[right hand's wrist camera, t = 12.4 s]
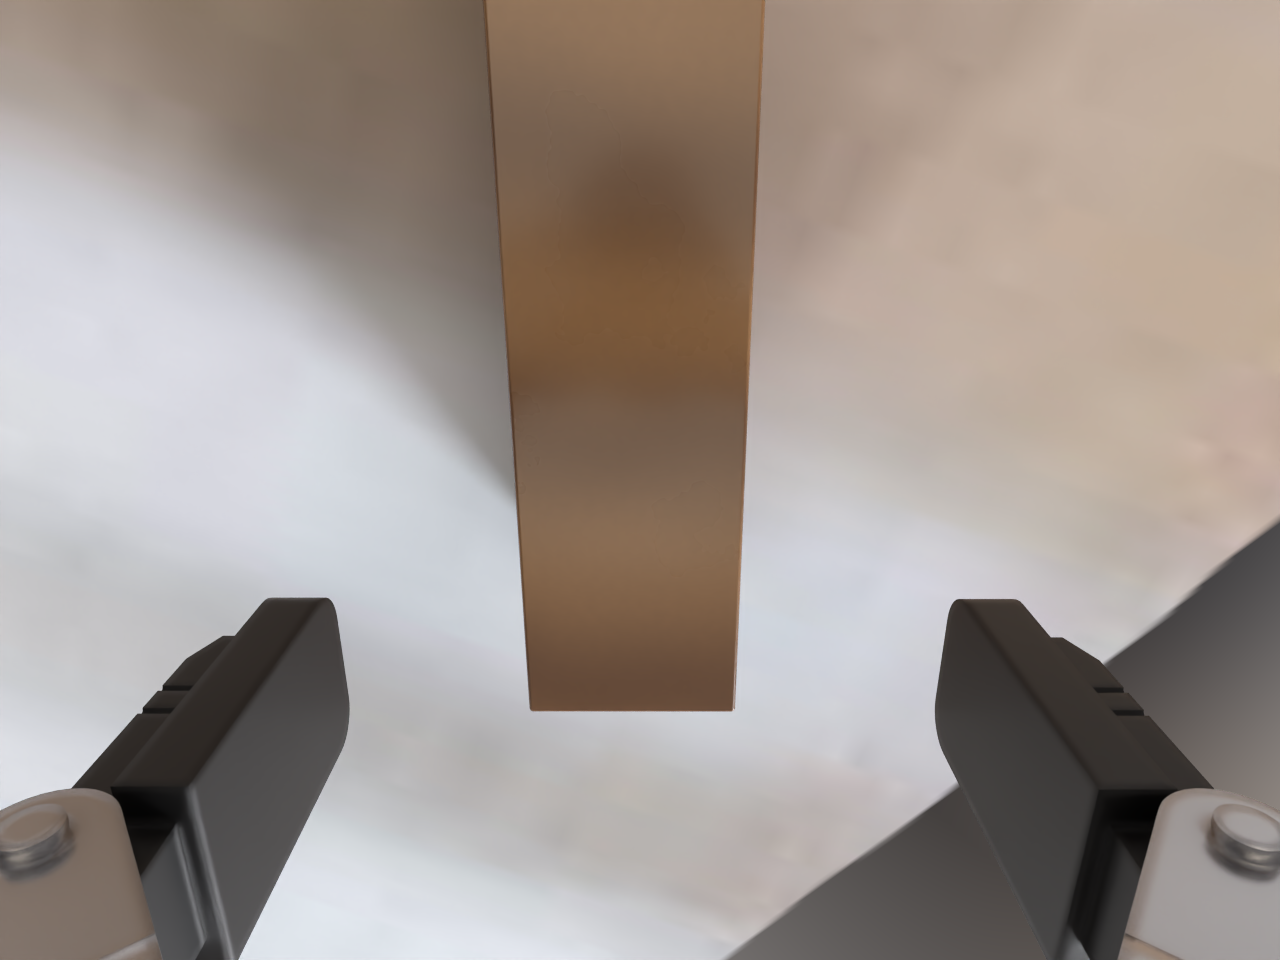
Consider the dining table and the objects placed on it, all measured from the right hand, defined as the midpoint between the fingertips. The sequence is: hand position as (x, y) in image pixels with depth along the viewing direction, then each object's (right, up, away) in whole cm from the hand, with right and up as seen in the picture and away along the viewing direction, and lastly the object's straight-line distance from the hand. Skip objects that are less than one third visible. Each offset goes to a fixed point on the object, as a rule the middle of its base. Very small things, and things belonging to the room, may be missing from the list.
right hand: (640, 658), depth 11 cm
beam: (0, +26, +4) cm, 26 cm away
